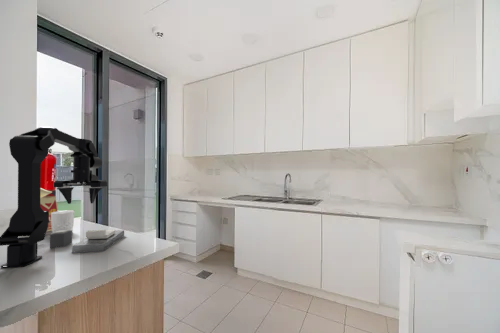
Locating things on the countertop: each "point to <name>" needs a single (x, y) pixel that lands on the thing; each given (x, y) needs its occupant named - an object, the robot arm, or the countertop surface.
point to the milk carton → (48, 204)
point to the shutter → (99, 234)
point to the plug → (60, 238)
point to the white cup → (62, 220)
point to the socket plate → (97, 243)
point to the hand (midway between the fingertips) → (80, 203)
